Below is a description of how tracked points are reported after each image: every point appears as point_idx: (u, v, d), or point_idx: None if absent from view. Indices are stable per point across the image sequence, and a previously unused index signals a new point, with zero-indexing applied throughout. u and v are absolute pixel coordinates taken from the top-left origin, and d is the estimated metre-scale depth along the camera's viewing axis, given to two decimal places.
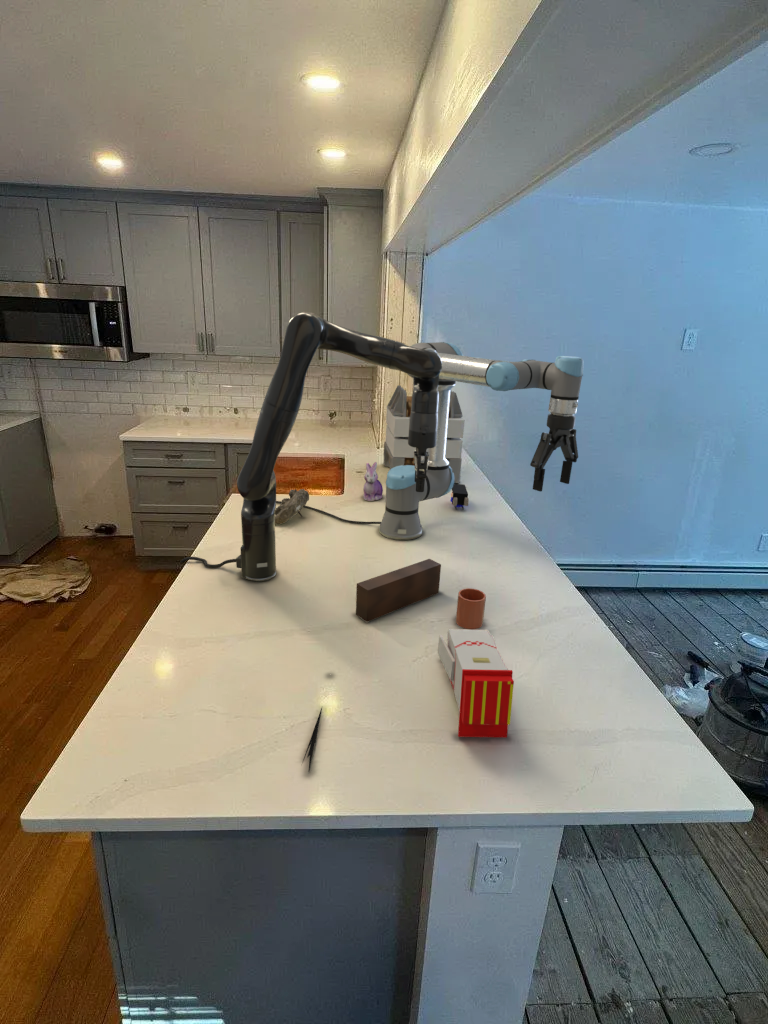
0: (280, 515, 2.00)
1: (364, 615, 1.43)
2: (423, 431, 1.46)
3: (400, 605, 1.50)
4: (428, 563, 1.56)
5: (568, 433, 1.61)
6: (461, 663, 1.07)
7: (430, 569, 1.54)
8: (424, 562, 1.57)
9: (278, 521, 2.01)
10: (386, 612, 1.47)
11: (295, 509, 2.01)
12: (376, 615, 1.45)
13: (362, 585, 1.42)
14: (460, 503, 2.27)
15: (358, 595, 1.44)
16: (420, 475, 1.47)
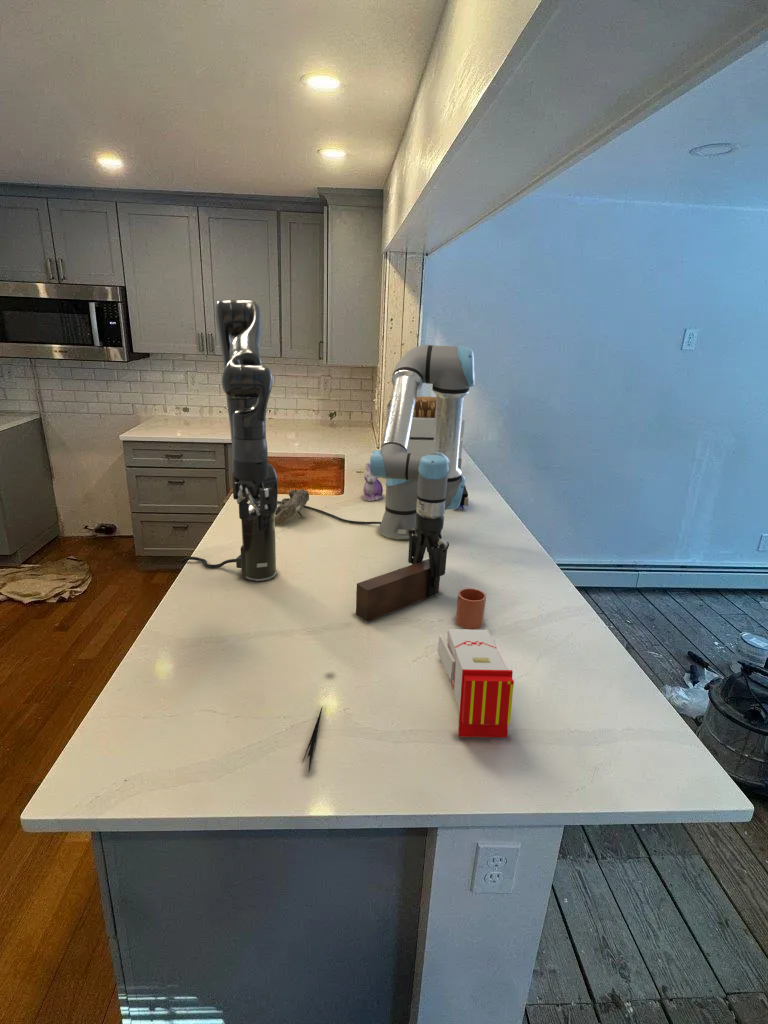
0: (280, 515, 2.00)
1: (364, 615, 1.43)
2: (258, 460, 1.24)
3: (400, 605, 1.50)
4: (428, 563, 1.56)
5: (433, 538, 1.50)
6: (461, 663, 1.07)
7: None
8: (424, 562, 1.57)
9: (278, 521, 2.01)
10: (386, 612, 1.47)
11: (295, 509, 2.01)
12: (376, 615, 1.45)
13: (362, 585, 1.42)
14: (460, 503, 2.27)
15: (358, 595, 1.44)
16: (266, 511, 1.25)
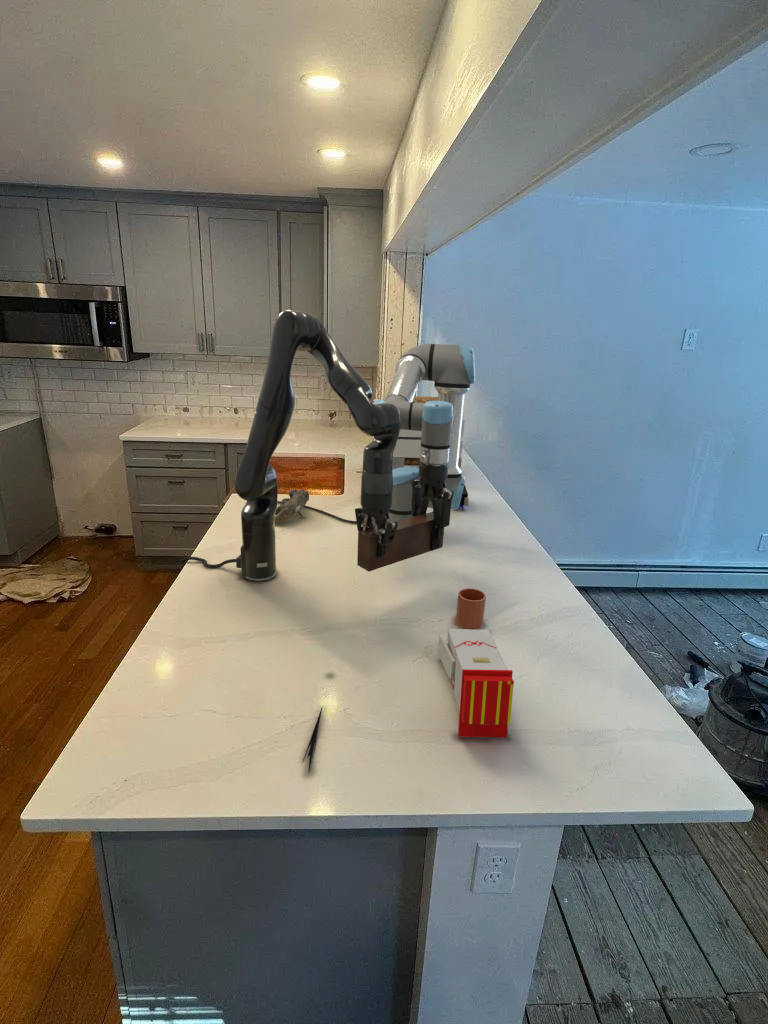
0: (280, 515, 2.00)
1: (365, 564, 1.39)
2: (386, 492, 1.33)
3: (403, 557, 1.45)
4: (432, 515, 1.52)
5: (437, 487, 1.45)
6: (461, 663, 1.07)
7: None
8: (428, 514, 1.52)
9: (278, 521, 2.01)
10: (389, 562, 1.42)
11: (295, 509, 2.01)
12: (378, 565, 1.40)
13: (364, 533, 1.37)
14: (460, 503, 2.27)
15: (360, 544, 1.39)
16: (388, 540, 1.35)
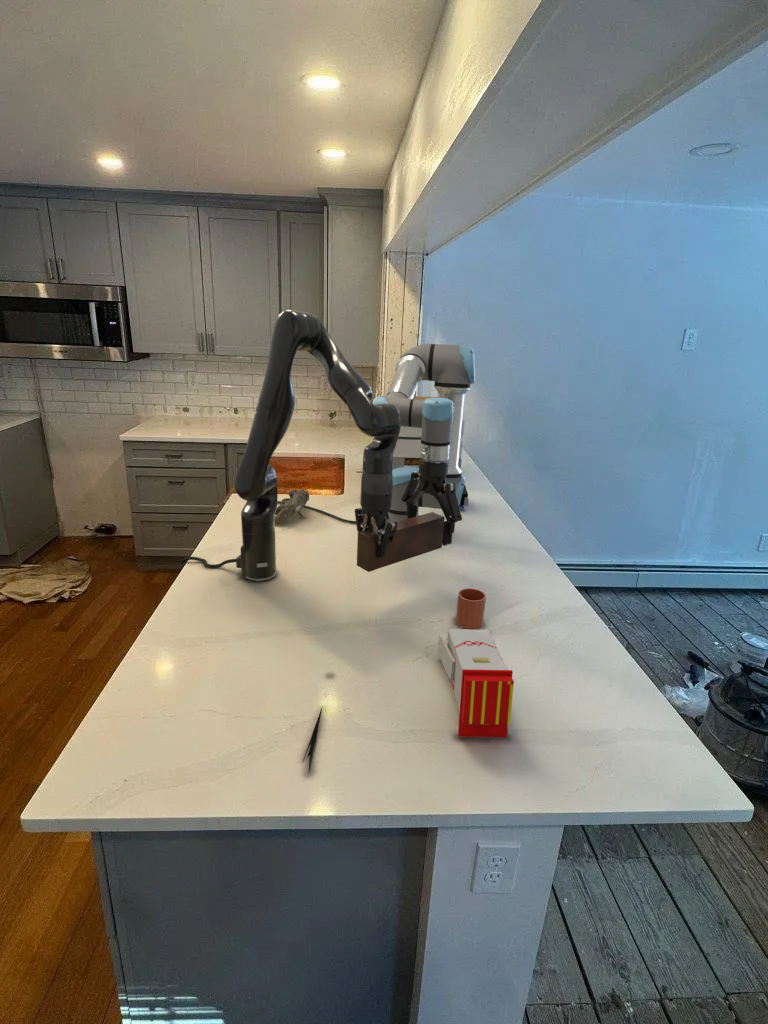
0: (280, 515, 2.00)
1: (365, 565, 1.39)
2: (386, 492, 1.33)
3: (403, 557, 1.45)
4: (431, 515, 1.52)
5: (438, 484, 1.45)
6: (461, 663, 1.07)
7: (433, 520, 1.49)
8: (427, 515, 1.52)
9: (278, 521, 2.01)
10: (388, 563, 1.42)
11: (295, 509, 2.01)
12: (378, 565, 1.40)
13: (364, 534, 1.38)
14: (460, 503, 2.27)
15: (359, 544, 1.39)
16: (387, 541, 1.35)
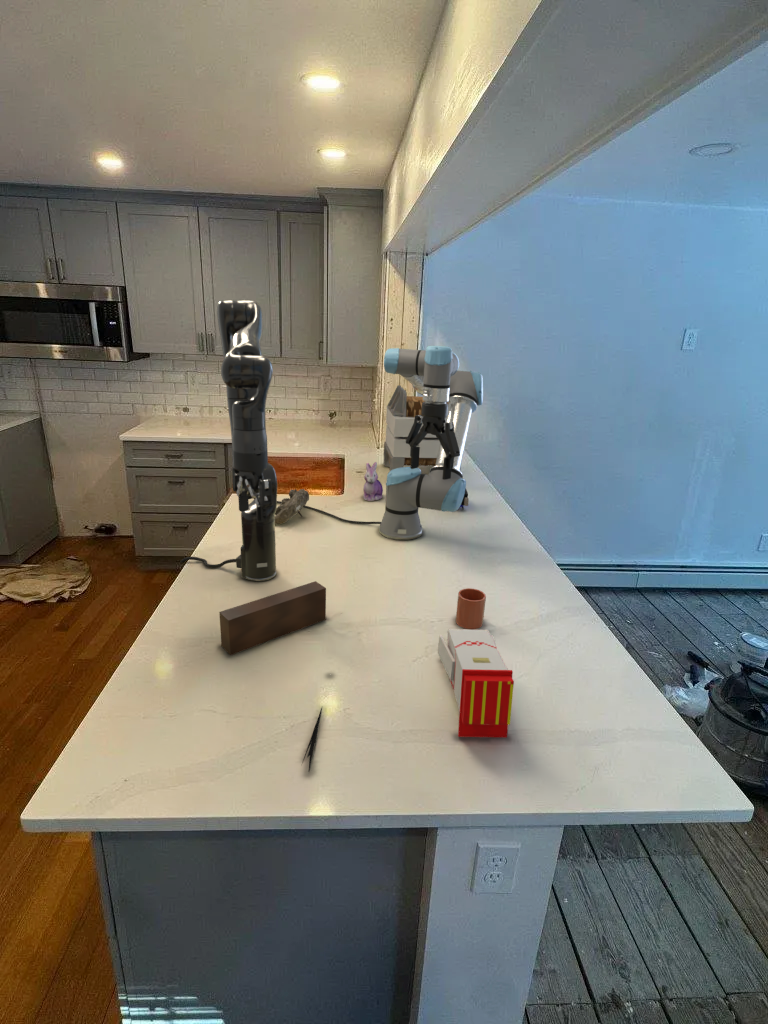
0: (280, 515, 2.00)
1: (227, 647, 1.27)
2: (258, 451, 1.23)
3: (275, 635, 1.34)
4: (312, 586, 1.40)
5: (438, 423, 1.62)
6: (461, 663, 1.07)
7: (311, 593, 1.38)
8: (307, 585, 1.41)
9: (278, 521, 2.01)
10: (256, 643, 1.31)
11: (295, 509, 2.01)
12: (242, 647, 1.29)
13: (224, 614, 1.26)
14: None
15: (221, 625, 1.28)
16: (266, 503, 1.24)
